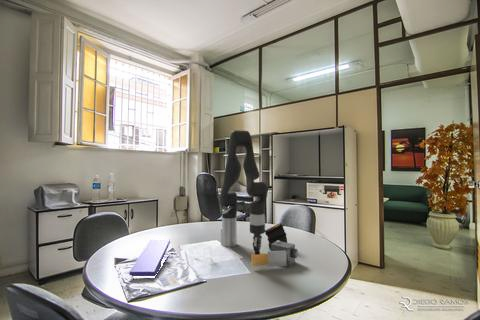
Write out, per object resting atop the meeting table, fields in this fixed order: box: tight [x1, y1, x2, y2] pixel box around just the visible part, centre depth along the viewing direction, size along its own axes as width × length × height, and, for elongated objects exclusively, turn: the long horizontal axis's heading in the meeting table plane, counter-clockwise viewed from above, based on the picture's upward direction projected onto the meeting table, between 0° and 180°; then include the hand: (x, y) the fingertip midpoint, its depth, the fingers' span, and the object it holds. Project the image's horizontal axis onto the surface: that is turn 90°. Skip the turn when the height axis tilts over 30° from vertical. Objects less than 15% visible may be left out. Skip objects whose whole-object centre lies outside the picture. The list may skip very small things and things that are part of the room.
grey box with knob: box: [270, 241, 299, 267], centre depth 119 cm, size 12×7×10 cm, turn 53°
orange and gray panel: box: [250, 249, 291, 268], centre depth 112 cm, size 19×1×8 cm, turn 96°
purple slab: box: [129, 239, 171, 277], centre depth 116 cm, size 12×28×10 cm, turn 4°
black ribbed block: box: [264, 222, 288, 251], centre depth 139 cm, size 4×13×15 cm, turn 91°
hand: (257, 258), depth 114 cm, fingers closed
